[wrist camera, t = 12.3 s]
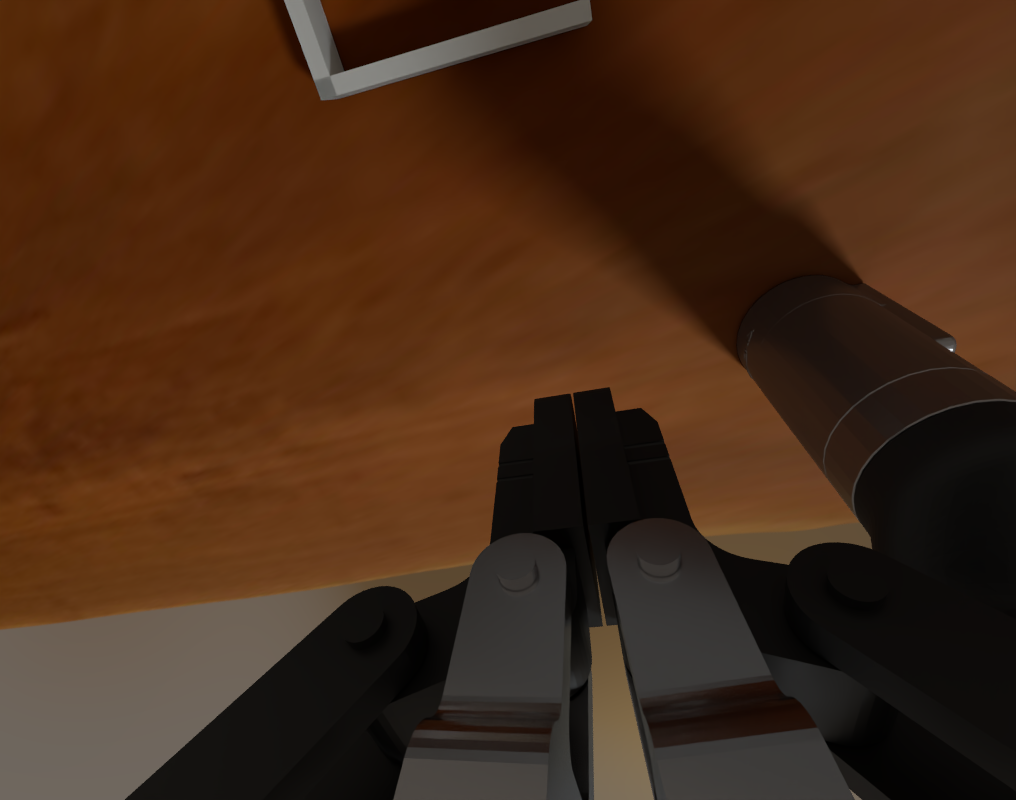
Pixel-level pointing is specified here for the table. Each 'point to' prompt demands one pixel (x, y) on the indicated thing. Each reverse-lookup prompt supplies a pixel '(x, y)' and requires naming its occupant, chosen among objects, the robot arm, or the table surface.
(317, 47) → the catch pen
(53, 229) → the table surface
